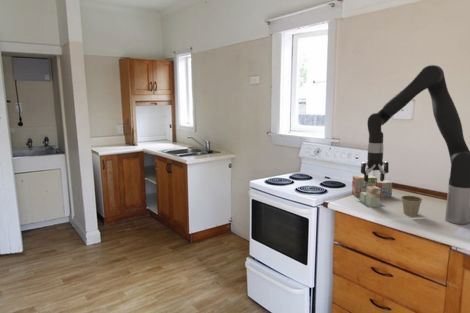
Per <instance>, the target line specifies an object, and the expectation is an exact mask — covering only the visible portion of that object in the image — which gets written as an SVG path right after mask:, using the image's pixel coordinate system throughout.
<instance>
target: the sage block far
mask: <svg viewBox="0 0 470 313" xmlns="http://www.w3.org/2000/svg"><path fill="white" fill-rule="evenodd" d="M359 201H361V202H363V203H366V192H360V197H359Z"/></svg>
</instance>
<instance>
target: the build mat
mask: <svg viewBox="0 0 470 313" xmlns="http://www.w3.org/2000/svg"><path fill="white" fill-rule="evenodd" d="M357 202H359V203H360V204H362V205H363V206H365V207H366V208H368V209H369V208H372V207H369V206H368V205H366V203H363V202H361V201H360V200H357ZM378 208H386V205H383V204H382V203H381V202H379V207H378Z"/></svg>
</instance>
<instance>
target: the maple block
mask: <svg viewBox="0 0 470 313" xmlns="http://www.w3.org/2000/svg"><path fill="white" fill-rule="evenodd" d="M366 196H368V197H370V198H381V197H380V188H378V187H376V186H367V190H366Z"/></svg>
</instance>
